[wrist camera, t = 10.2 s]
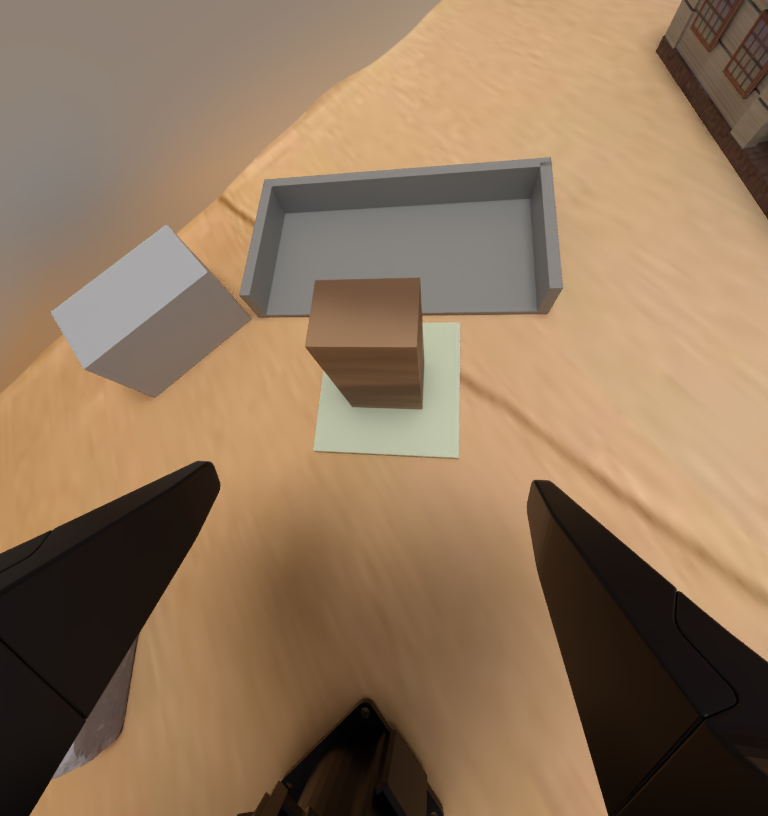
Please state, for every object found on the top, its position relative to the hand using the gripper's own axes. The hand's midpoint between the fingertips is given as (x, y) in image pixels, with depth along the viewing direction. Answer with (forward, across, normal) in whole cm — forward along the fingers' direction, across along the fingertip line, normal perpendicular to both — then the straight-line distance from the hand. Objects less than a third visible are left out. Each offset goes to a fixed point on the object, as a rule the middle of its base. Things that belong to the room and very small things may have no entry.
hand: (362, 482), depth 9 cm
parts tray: (+23, +1, -4) cm, 23 cm away
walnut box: (+15, +1, +4) cm, 15 cm away
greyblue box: (+18, +19, +1) cm, 26 cm away
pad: (+15, +1, +4) cm, 16 cm away
